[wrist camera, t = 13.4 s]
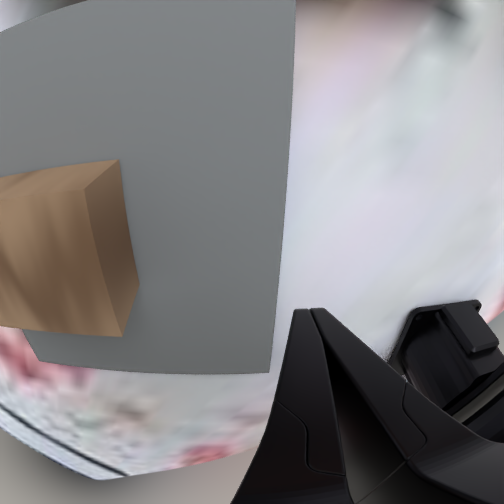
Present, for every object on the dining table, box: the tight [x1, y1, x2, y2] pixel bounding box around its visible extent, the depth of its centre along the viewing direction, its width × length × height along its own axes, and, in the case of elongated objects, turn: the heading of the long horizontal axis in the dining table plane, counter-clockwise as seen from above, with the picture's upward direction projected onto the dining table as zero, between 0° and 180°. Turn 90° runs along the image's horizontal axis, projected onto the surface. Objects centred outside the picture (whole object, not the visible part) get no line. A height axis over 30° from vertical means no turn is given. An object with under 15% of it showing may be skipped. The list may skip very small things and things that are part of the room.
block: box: [0, 159, 140, 337], centre depth 11 cm, size 6×4×8 cm
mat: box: [0, 0, 296, 374], centre depth 13 cm, size 20×16×1 cm
